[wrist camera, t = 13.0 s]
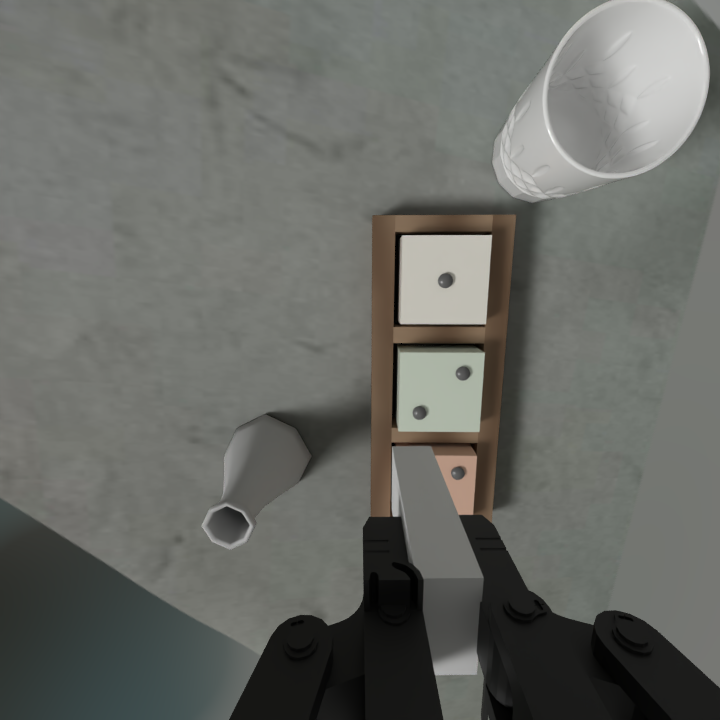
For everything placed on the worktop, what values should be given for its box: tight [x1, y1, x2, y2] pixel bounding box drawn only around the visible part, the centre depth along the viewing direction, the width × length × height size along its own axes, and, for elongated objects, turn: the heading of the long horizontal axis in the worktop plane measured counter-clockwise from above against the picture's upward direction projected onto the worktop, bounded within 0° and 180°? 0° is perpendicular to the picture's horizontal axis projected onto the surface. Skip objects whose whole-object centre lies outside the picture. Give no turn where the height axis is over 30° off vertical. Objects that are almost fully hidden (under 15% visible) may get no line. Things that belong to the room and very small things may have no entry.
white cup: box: [492, 0, 710, 203], centre depth 24 cm, size 8×8×10 cm
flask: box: [202, 414, 312, 550], centre depth 29 cm, size 7×7×10 cm
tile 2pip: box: [396, 345, 485, 432], centre depth 30 cm, size 6×6×3 cm
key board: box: [371, 215, 516, 523], centre depth 31 cm, size 10×25×2 cm, turn 0°
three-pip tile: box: [395, 442, 477, 515], centre depth 31 cm, size 6×6×3 cm
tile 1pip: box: [397, 235, 492, 324], centre depth 28 cm, size 6×6×3 cm
